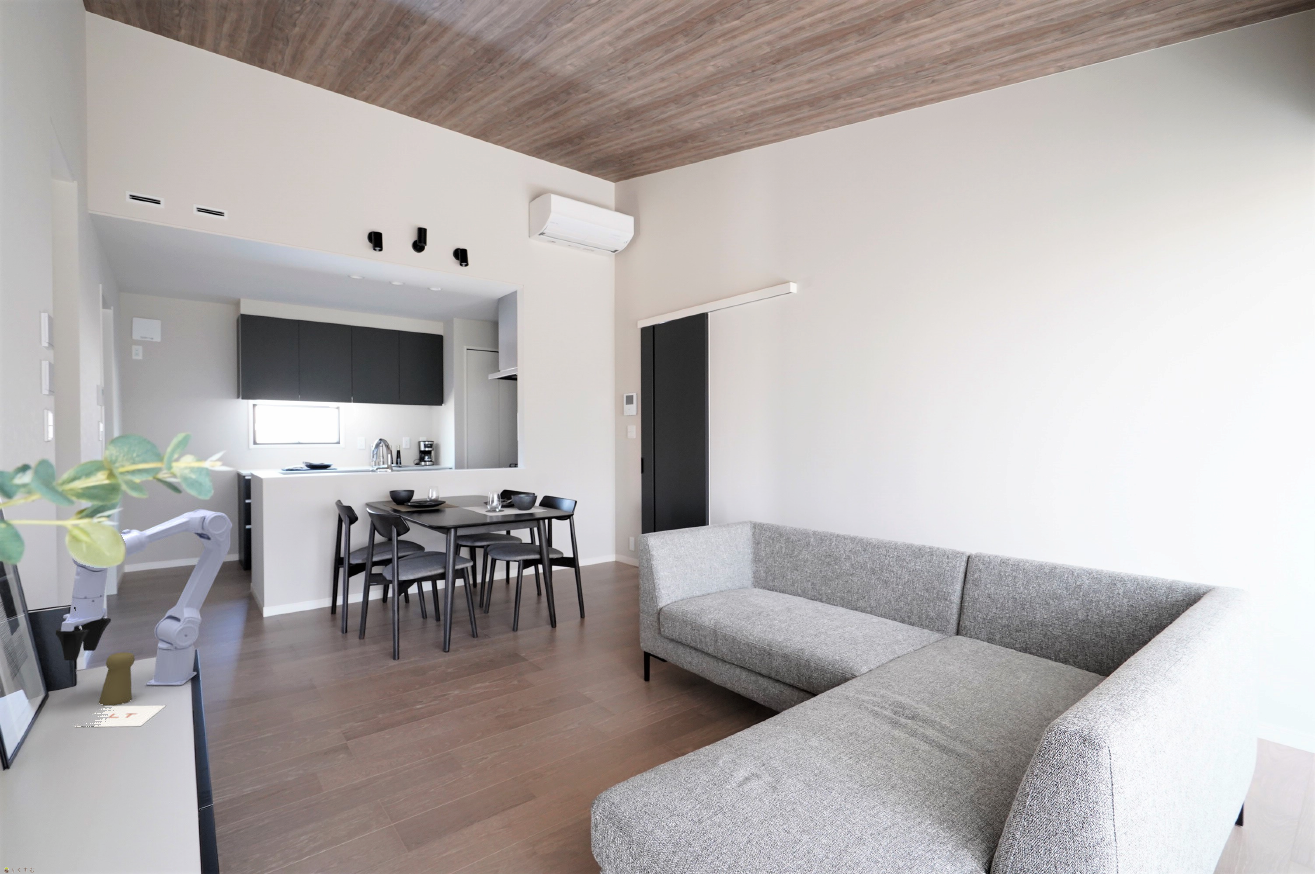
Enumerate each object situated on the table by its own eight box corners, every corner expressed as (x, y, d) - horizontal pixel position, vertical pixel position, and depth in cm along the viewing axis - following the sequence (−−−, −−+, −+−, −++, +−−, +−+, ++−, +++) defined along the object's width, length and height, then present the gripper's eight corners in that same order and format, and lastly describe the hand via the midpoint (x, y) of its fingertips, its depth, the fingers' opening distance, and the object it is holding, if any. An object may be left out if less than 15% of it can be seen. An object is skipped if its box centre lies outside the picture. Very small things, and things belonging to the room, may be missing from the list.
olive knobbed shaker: (116, 706, 151) (122, 658, 151) (91, 704, 151) (97, 655, 152) (138, 697, 157) (144, 651, 157) (114, 695, 157) (120, 648, 158)
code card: (105, 706, 150) (105, 705, 150) (165, 706, 153) (165, 705, 153) (74, 727, 139) (74, 726, 139) (140, 726, 142) (140, 725, 142)
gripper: (85, 589, 159) (77, 646, 158) (48, 601, 145) (39, 664, 144) (119, 590, 161) (112, 646, 160) (86, 602, 147) (78, 664, 146)
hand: (80, 654), depth 153 cm, fingers open, 7 cm apart
